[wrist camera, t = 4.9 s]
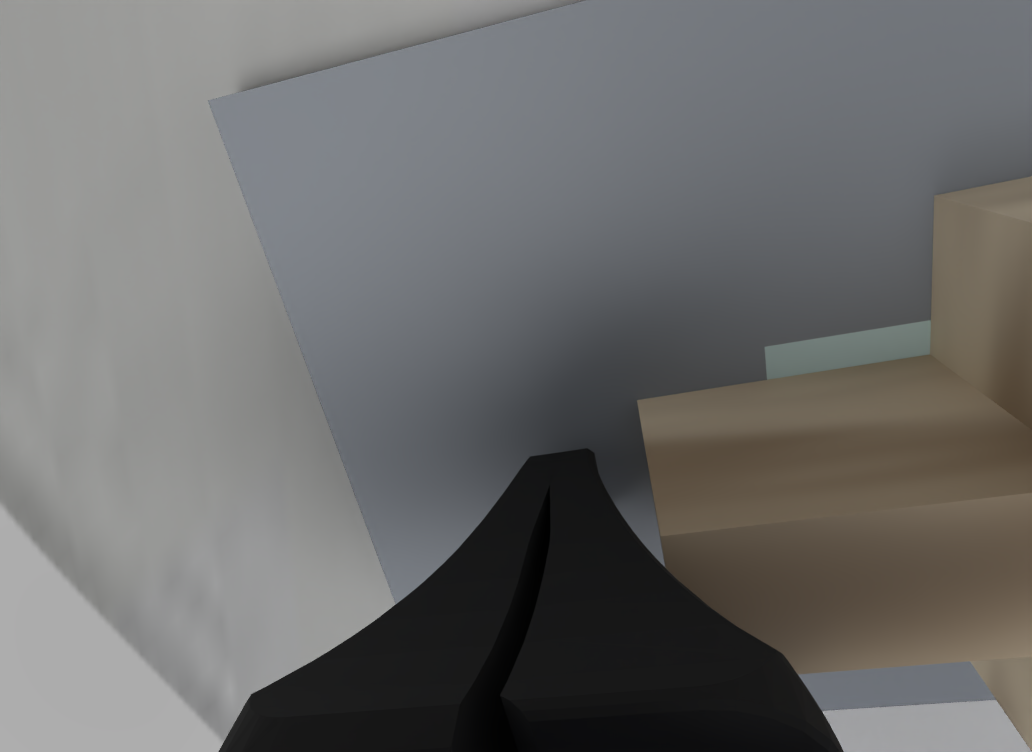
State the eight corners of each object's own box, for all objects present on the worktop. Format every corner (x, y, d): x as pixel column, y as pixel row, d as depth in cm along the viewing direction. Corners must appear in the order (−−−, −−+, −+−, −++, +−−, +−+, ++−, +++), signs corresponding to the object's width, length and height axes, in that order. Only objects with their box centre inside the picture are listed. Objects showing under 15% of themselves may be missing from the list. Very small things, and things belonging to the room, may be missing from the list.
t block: (1068, 579, 12) (1270, 782, 9) (673, 617, 14) (705, 805, 10) (1125, 157, 9) (1468, 196, 6) (612, 258, 11) (627, 342, 7)
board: (1300, 638, 14) (1350, 676, 13) (451, 699, 17) (444, 734, 16) (1594, -257, 8) (1725, -303, 7) (238, 100, 11) (207, 100, 10)
